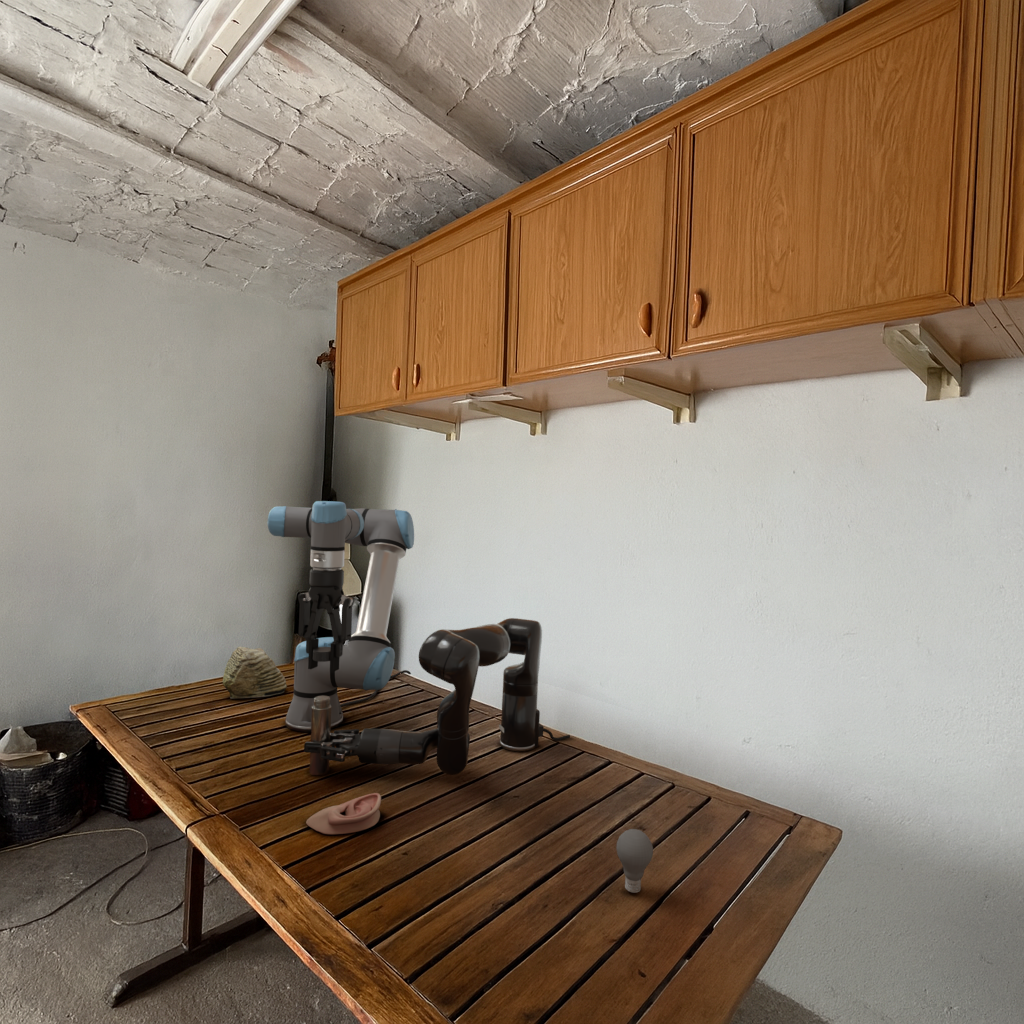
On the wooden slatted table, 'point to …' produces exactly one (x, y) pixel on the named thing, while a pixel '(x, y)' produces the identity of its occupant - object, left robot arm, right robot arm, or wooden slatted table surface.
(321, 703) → the dark brown cylindrical piece
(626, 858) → the light bulb
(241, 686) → the fossil
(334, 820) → the anatomical model
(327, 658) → the lid
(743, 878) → the wooden slatted table surface
